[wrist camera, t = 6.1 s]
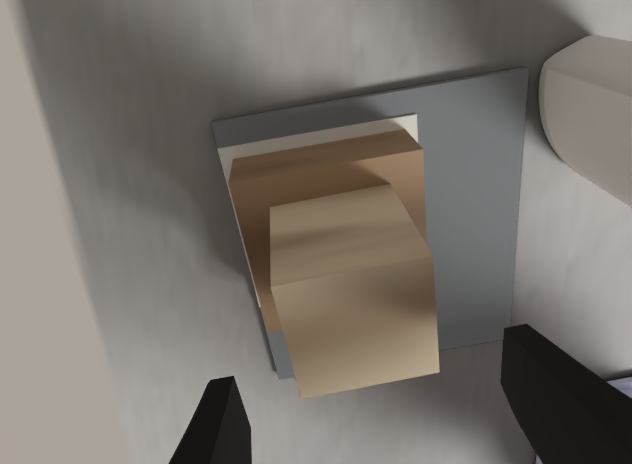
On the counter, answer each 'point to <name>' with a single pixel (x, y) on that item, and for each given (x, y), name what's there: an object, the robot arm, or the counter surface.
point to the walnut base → (320, 189)
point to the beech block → (353, 291)
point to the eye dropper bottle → (591, 111)
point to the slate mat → (427, 184)
